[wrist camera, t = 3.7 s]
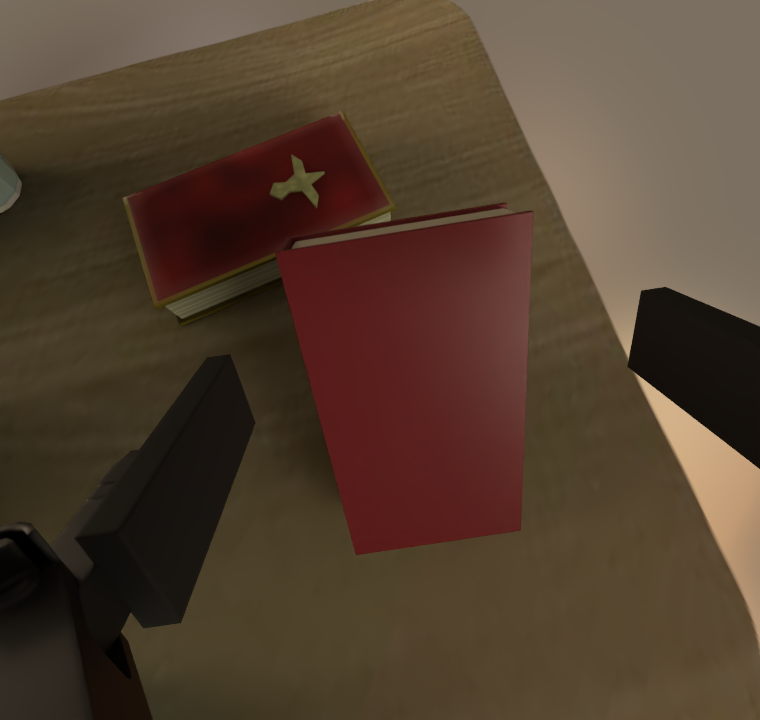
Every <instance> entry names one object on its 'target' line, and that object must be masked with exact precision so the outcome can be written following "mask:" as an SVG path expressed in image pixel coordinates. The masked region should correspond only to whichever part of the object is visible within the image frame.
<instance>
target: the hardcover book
mask: <svg viewBox="0 0 760 720" xmlns="http://www.w3.org/2000/svg"><path fill="white" fill-rule="evenodd" d="M123 202H124V205H125V209H126V212H127V216H128V219H129V222H130V226H131V229H132V233H133V236H134V240H135V243H136V246H137V250H138V253H139V257H140V260H141V264H142V267H143V271H144V274H145V277H146V281H147V284H148V288H149V291H150V295H151V298H152V301H153V305H154V308H156V309H157V310H158V309H160V308H162V307H166V308H167V309H169V310H170V311H172V312H173V313H174V314H176V316H177V319H178V323H179V325H180V326H183V325H186V324H188V323H190V322H193V321H195V320H197V319H200V318H202V317H204V316H207V315H209V314H212V313H214V312H216V311H219V310H221V309H223V308H226V307H228V306H230V305H233V304H235V303H238V302H240V301H242V300H245V299H247V298H249V297H252V296H254V295H256V294H259V293H261V292H263V291H266V290H268V289H271V288H273V287H275V286H278V285H280V284H282V283H283V281H282V277H281V274H280V270H279V266H278V262H277V259H276V255H275V252H276V251H277V250H278V249H279V247H280V246H281V245H282V244H283V242H284V241H285V240H286V239H287V238H288V237H293V236H300V235H306V234H312V233H318V232H325V231H331V230H337V229H343V228H349V227H356V226H362V225H368V224H374V223H381V222H387V221H391V213H390V212H392V211H394V210H396V205H395V203H394V201H393V199H392V198H391V196H390V194H389V192H388V191H387V189H386V187H385V185H384V183H383V182H382V180H381V178H380V176H379V174H378V173H377V171H376V169H375V167H374V165H373V164H372V162H371V160H370V158H369V156H368V155H367V153H366V151H365V149H364V148H363V146H362V144H361V142H360V140H359V139H358V137H357V135H356V133H355V131H354V130H353V128H352V126H351V124H350V122H349V121H348V119H347V117H346V115H345V114H344V112H343V111H341V112H338V113H336V114H333V115H331V116H328V117H326V118H323V119H321V120H318V121H316V122H313V123H311V124H308V125H306V126H303V127H301V128H298V129H295V130H293V131H290V132H288V133H285V134H283V135H280V136H278V137H275V138H273V139H270V140H268V141H265V142H263V143H260V144H258V145H255V146H253V147H250V148H247V149H245V150H242V151H240V152H237V153H235V154H232V155H230V156H227V157H225V158H222V159H220V160H217V161H215V162H212V163H210V164H207V165H205V166H202V167H199V168H197V169H194V170H192V171H189V172H187V173H184V174H182V175H179V176H177V177H174V178H172V179H169V180H167V181H164V182H162V183H159V184H157V185H154V186H151V187H149V188H146V189H144V190H141V191H139V192H136V193H134V194H131V195H129V196H126V197H124V198H123Z"/></svg>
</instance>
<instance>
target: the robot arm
mask: <svg viewBox="0 0 760 720" xmlns="http://www.w3.org/2000/svg"><path fill="white" fill-rule="evenodd" d="M628 367H629V368H630V369H631V370H632V371H634V372H635V373H636V374H638V375H639V376H640V377H642V378H643V379H644V380H645V381H647V382H648V383H649V384H651V385H652V386H653V387H655V388H656V389H657V390H658V391H660V392H661V393H662V394H664V395H665V396H666V397H667V398H669V399H670V400H671V401H673V402H674V403H675V404H676V405H678V406H679V407H680V408H682V409H683V410H684V411H685V412H687V413H688V414H689V415H691V416H692V417H693V418H695V419H696V420H697V421H698V422H700V423H701V424H702V425H704V426H705V427H706V428H708V429H709V430H710V431H711V432H713V433H714V434H715V435H717V436H718V437H719V438H720V439H722V440H723V441H724V442H726V443H727V444H728V445H729V446H731V447H732V448H733V449H735V450H736V451H737V452H739V453H740V454H741V455H743V456H744V457H745V458H746V459H748V460H749V461H750V462H752V463H753V464H754V465H755V466H757V467H758V468H759V469H760V327H759V326H757V325H755V324H752V323H750V322H748V321H745V320H743V319H741V318H738V317H736V316H733V315H731V314H729V313H726V312H724V311H722V310H719V309H717V308H714V307H712V306H710V305H707V304H705V303H702V302H700V301H698V300H695V299H693V298H690V297H688V296H686V295H683V294H681V293H679V292H676V291H674V290H672V289H669V288H667V287H662V288H656V289H649V290H643V291H641V295H640V300H639V306H638V312H637V317H636V323H635V329H634V334H633V339H632V345H631V350H630V356H629V361H628ZM254 426H255V420H254V418H253V415H252V412H251V409H250V407H249V404H248V401H247V399H246V396H245V393H244V390H243V388H242V385H241V382H240V379H239V377H238V374H237V371H236V368H235V366H234V363H233V360H232V357H231V355H230V354H228V355H221V356H215V357H208V358H206V360H205V361H204V362H203V364H202V365H201V366H200V368H199V369H198V370H197V372H196V373H195V374H194V376H193V377H192V379H191V380H190V381H189V383H188V384H187V385H186V387H185V388H184V389H183V391H182V392H181V393H180V395H179V396H178V398H177V399H176V400H175V402H174V403H173V404H172V406H171V407H170V408H169V410H168V411H167V413H166V414H165V415H164V417H163V418H162V419H161V421H160V422H159V423H158V425H157V426H156V427H155V429H154V430H153V432H152V433H151V434H150V436H149V437H148V438H147V440H146V441H145V442H144V444H143V445H142V447H141V448H140V449H139V450H134V451H131V452H129V453H128V454H127V455H126V456H125V457H123V458H122V459H121V460H120V461H118V462H117V463H116V464H115V465H113V466H112V467H111V469H110V470H109V471H108V472H107V474H106V475H105V476H104V478H103V479H102V480H101V481H100V483H99V487H96V488H95V489H94V490H93V492H92V493H91V494H90V495H89V497H88V501H85V502H84V503H83V504H82V506H81V507H80V508H79V510H78V511H77V512H76V513H75V515H74V516H73V517H72V518H71V520H70V521H69V522H68V524H67V525H66V526H65V527H64V529H63V530H62V531H61V532H60V534H59V535H58V536H57V538H56V539H55V540H54V541H53V543H52V544H51V545H50V546H49V544H48V543H47V542H46V541H45V540H44V538H43V537H42V536H41V535H40V534H39V532H38V531H37V530H36V529H35V527H34V526H33V525H32V524H31V523H25V522H17V523H13V524H9V525H4V526H2V527H0V720H153V719H152V715H151V712H150V709H149V706H148V703H147V700H146V697H145V693H144V690H143V687H142V684H141V681H140V678H139V675H138V671H137V668H136V665H135V662H134V659H133V656H132V652H131V649H130V646H129V643H128V641H127V639H126V638H125V637H124V635H123V634H122V633H121V630H122V628H123V626H124V624H125V622H126V620H127V618H128V616H129V614H130V612H131V613H132V614H133V615H134V617H135V618H136V619H137V620H138V622H139V623H140V624H141V626H142V627H143V628H149V627H156V626H163V625H170V624H177V623H181V621H182V618H183V616H184V613H185V610H186V608H187V605H188V602H189V600H190V597H191V594H192V592H193V589H194V586H195V584H196V581H197V578H198V576H199V573H200V570H201V568H202V565H203V562H204V559H205V557H206V554H207V551H208V549H209V546H210V543H211V541H212V538H213V535H214V533H215V530H216V527H217V525H218V522H219V519H220V517H221V514H222V511H223V509H224V506H225V503H226V501H227V498H228V495H229V493H230V490H231V487H232V484H233V482H234V479H235V476H236V474H237V471H238V468H239V466H240V463H241V460H242V458H243V455H244V452H245V450H246V447H247V444H248V442H249V439H250V436H251V434H252V431H253V428H254Z"/></svg>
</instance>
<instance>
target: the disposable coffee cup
mask: <svg viewBox="0 0 760 720" xmlns="http://www.w3.org/2000/svg"><path fill="white" fill-rule="evenodd" d="M21 186H22V182H21V181H20V179H19V177H18V175H17V174H16V172H15V170H14V168H13V167H12V165H11V164H10V163H9V162H8V161H7V160H6V159H5V158H4V157H3V156H2V155H1V154H0V213H2V212H4V211H6V210H7V209H9V208H10V207H11V206H12V205H13V204H14V202H15V201H16V200H17V199H18V197H19V196H20V192H21Z"/></svg>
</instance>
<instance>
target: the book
mask: <svg viewBox="0 0 760 720" xmlns="http://www.w3.org/2000/svg"><path fill="white" fill-rule="evenodd" d="M532 235H533V211H525V212H519V213H517V212H514V211H511V210H508V209H507V203H499V204H493V205H486V206H480V207H474V208H468V209H461V210H455V211H449V212H443V213H437V214H430V215H424V216H418V217H412V218H405V219H399V220H393V221H387V222H381V223H374V224H368V225H362V226H356V227H349V228H343V229H337V230H331V231H325V232H318V233H312V234H306V235H300V236H293V237H288V238H287V239H286V240H285V241H284V242H283V244H282V245H281V246H280V247H279V249H278V250H277V251H276V252H275V255H276V259H277V262H278V266H279V270H280V274H281V277H282V281H283V285H284V289H285V292H286V296H287V300H288V303H289V307H290V311H291V315H292V318H293V322H294V326H295V330H296V333H297V337H298V341H299V344H300V348H301V352H302V356H303V359H304V363H305V367H306V371H307V374H308V378H309V382H310V385H311V389H312V393H313V397H314V400H315V404H316V408H317V412H318V415H319V419H320V423H321V426H322V430H323V434H324V438H325V441H326V445H327V449H328V453H329V456H330V460H331V464H332V467H333V471H334V475H335V479H336V482H337V486H338V490H339V494H340V497H341V501H342V505H343V508H344V512H345V516H346V520H347V523H348V527H349V531H350V535H351V538H352V542H353V546H354V549H355V553H356V555H360V554H366V553H373V552H380V551H386V550H393V549H400V548H407V547H413V546H420V545H427V544H433V543H440V542H447V541H454V540H460V539H467V538H474V537H480V536H487V535H494V534H500V533H507V532H514V531H520V530H521V510H522V485H523V460H524V435H525V410H526V385H527V360H528V335H529V310H530V285H531V260H532Z"/></svg>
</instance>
